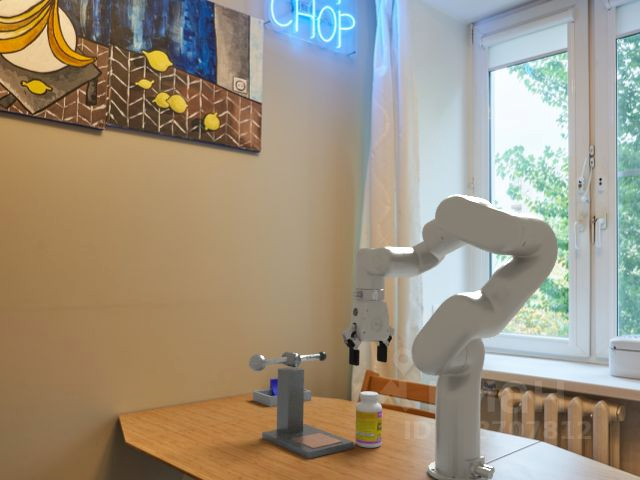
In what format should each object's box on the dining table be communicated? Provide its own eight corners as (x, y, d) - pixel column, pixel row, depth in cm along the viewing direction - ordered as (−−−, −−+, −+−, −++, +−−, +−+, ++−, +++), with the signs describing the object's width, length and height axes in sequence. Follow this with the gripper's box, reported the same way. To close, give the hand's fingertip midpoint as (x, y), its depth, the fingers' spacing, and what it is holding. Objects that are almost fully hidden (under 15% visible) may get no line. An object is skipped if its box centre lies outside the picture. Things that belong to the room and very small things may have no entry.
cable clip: (295, 402, 187) (295, 384, 187) (282, 404, 185) (282, 385, 185) (282, 395, 197) (282, 378, 198) (269, 396, 196) (270, 379, 196)
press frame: (353, 448, 140) (354, 376, 141) (308, 458, 132) (309, 382, 133) (305, 429, 156) (306, 365, 157) (262, 438, 147) (263, 370, 148)
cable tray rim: (311, 399, 192) (311, 391, 192) (270, 406, 182) (270, 397, 182) (293, 394, 200) (293, 385, 201) (252, 400, 190) (252, 391, 190)
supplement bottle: (380, 449, 139) (380, 396, 140) (353, 447, 141) (354, 395, 141) (382, 441, 146) (383, 391, 147) (357, 439, 147) (357, 389, 148)
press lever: (330, 365, 156) (330, 348, 156) (254, 373, 141) (254, 356, 141) (320, 362, 160) (320, 347, 160) (245, 371, 144) (245, 353, 145)
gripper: (354, 297, 137) (352, 368, 136) (403, 296, 148) (402, 362, 147) (334, 295, 143) (332, 364, 142) (383, 294, 154) (382, 358, 153)
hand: (368, 363), depth 145 cm, fingers open, 9 cm apart
